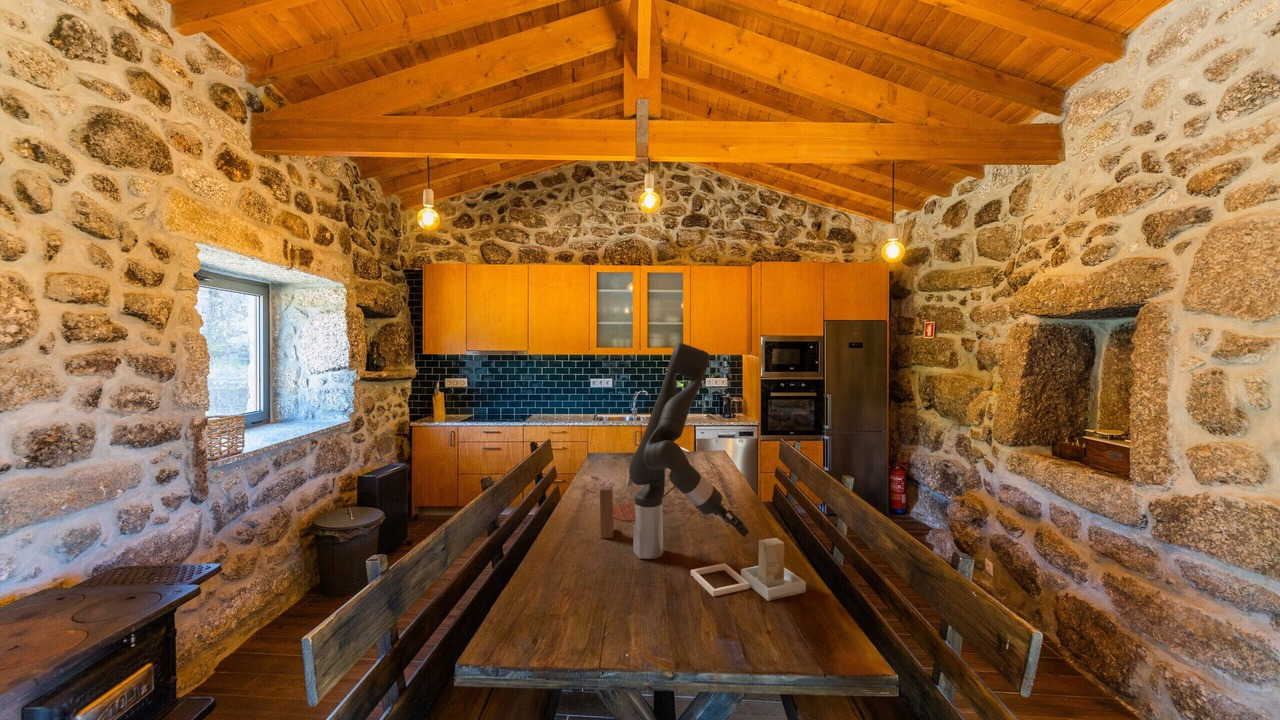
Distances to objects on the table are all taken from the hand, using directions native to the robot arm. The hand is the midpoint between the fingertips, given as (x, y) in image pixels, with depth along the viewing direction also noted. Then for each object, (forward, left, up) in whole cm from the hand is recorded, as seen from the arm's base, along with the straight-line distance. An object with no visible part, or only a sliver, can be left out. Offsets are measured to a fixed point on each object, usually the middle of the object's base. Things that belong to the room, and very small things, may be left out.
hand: (737, 528), depth 141 cm
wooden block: (-22, +56, -19) cm, 63 cm away
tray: (+11, 0, -18) cm, 22 cm away
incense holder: (-1, +73, -19) cm, 76 cm away
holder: (-2, +8, -18) cm, 20 cm away
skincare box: (+11, 0, -18) cm, 21 cm away
